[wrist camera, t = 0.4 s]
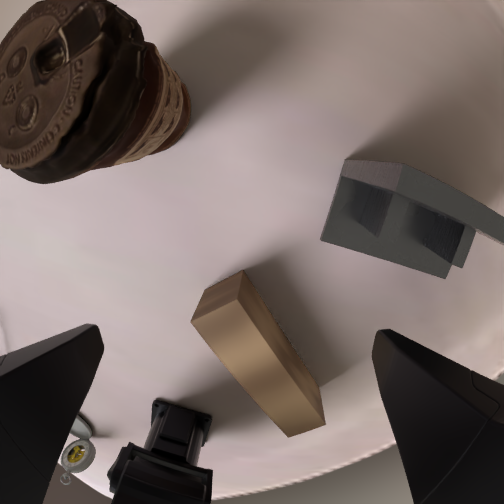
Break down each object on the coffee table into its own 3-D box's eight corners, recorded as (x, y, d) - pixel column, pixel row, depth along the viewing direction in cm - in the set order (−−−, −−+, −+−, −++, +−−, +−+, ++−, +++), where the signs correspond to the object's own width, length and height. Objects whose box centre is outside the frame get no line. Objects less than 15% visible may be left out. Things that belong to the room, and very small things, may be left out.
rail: (318, 386, 26) (325, 424, 21) (286, 399, 26) (288, 437, 22) (243, 268, 22) (237, 299, 17) (205, 288, 23) (190, 321, 18)
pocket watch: (58, 397, 29) (24, 446, 20) (108, 432, 31) (82, 486, 21) (52, 418, 32) (24, 460, 22) (96, 448, 33) (74, 494, 23)
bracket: (443, 277, 21) (506, 333, 12) (320, 239, 21) (355, 298, 12) (467, 212, 19) (544, 245, 10) (344, 159, 19) (403, 163, 10)
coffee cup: (226, 68, 17) (170, -37, 5) (195, 179, 20) (92, 216, 8) (120, 57, 17) (4, 1, 5) (93, 156, 20) (-42, 175, 7)
